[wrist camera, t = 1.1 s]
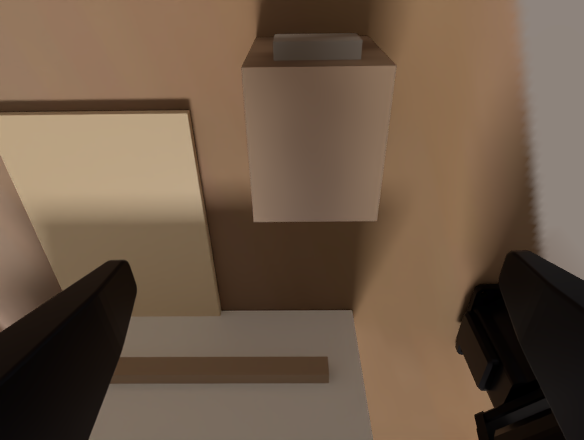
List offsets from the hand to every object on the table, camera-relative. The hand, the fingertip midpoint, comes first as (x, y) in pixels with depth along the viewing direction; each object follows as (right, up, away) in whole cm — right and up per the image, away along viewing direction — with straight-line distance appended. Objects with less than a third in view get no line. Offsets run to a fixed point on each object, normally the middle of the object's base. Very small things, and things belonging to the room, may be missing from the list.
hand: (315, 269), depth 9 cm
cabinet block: (0, +7, +10) cm, 12 cm away
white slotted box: (-7, 0, +14) cm, 16 cm away
